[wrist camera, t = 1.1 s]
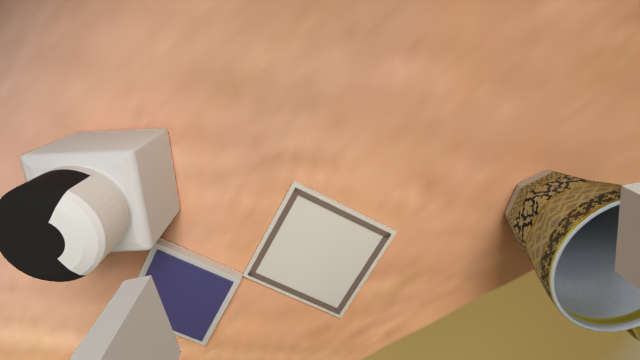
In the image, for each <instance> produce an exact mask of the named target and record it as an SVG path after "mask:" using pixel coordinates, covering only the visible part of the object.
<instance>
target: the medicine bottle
mask: <svg viewBox="0 0 640 360" xmlns="http://www.w3.org/2000/svg"><path fill="white" fill-rule="evenodd" d="M20 161H21V164H22V167H23V171H24V174H25V178H26V181H27V182H26V183H24V184H22V185H20V186H18V187H16V188H14V189H12V190H11V191H9V192H8V193H6V194H5V195H4V196H3V197H2V198H1V199H0V252H1V253H2V255H3V256H4V257H5V258H6V259H7V260H8V262H10V263H11V264H12V265H13V266H14V267H16V268H17V269H18V270H20V271H22V272H23V273H25V274H27V275H29V276H32V277H34V278H38V279H41V280H47V281H55V282H64V281H71V280H75V279H79V278H81V277H83V276H85V275H87V274H88V273H90V272H91V271H92V270H93V269H95V268H96V267H97V265H98V264H99V263H100V262H101V261H102V260H103V259H104V258H105V257H106V256H107V255H108V254H109V252H123V251H144V250H150V249H151V248H152V247H153V246H154V244H155V243H156V242H157V240H158V239H159V238H160V236H161V235H162V233H163V232H164V231H165V229H166V228H167V227H168V225H169V224H170V223H171V221H172V220H173V219H174V217H175V216H176V215H177V213H178V212H179V210H180V203H179V197H178V191H177V185H176V178H175V172H174V166H173V160H172V153H171V147H170V141H169V135H168V131H167V130H166V129H165V128H152V129H128V130H103V131H79V132H76V133H74V134H72V135H69V136H67V137H64V138H62V139H59V140H57V141H54V142H52V143H50V144H47V145H45V146H42V147H40V148H37V149H35V150H32V151H30V152H28V153H25V154H23V155H22V156H21V157H20Z"/></svg>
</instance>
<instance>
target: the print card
mask: <svg viewBox="0 0 640 360" xmlns="http://www.w3.org/2000/svg"><path fill="white" fill-rule="evenodd" d="M396 233H397V231H396V230H394V229H392V228H390V227H388V226H386V225H384V224H382V223H380V222H378V221H376V220H374V219H372V218H370V217H368V216H366V215H364V214H362V213H360V212H358V211H356V210H354V209H352V208H350V207H348V206H346V205H344V204H341V203H339V202H337V201H335V200H333V199H331V198H329V197H327V196H325V195H323V194H321V193H319V192H317V191H315V190H313V189H311V188H309V187H307V186H305V185H303V184H301V183H299V182H297V181H295V180H294V181H293V183H292V184H291V186H290V188H289V190H288V192H287V194H286V195H285V197H284V199H283V201H282V203H281V205H280V206H279V208H278V210H277V212H276V214H275V216H274V217H273V219H272V221H271V223H270V225H269V227H268V229H267V230H266V232H265V234H264V236H263V238H262V240H261V241H260V243H259V245H258V247H257V249H256V251H255V252H254V254H253V256H252V258H251V260H250V262H249V263H248V265H247V267H246V269H245V271H244V273H243V275H242V276H244V277H246V278H248V279H251V280H253V281H255V282H258V283H260V284H262V285H265V286H267V287H269V288H272V289H274V290H276V291H278V292H281V293H283V294H285V295H288V296H290V297H292V298H295V299H297V300H299V301H302V302H304V303H306V304H309V305H311V306H313V307H315V308H318V309H320V310H322V311H325V312H327V313H329V314H332V315H334V316H336V317H339V318H341V317H342V315H343V314H344V312H345V311H346V309H347V308H348V306H349V305H350V303H351V302H352V300H353V299H354V297H355V296H356V294H357V292H358V291H359V289H360V288H361V286H362V285H363V283H364V282H365V280H366V279H367V277H368V276H369V274H370V273H371V271H372V270H373V268H374V267H375V265H376V263H377V262H378V260H379V259H380V257H381V256H382V254H383V253H384V251H385V250H386V248H387V247H388V245H389V244H390V242H391V241H392V239H393V237H394V236H395V234H396Z"/></svg>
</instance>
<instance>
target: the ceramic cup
mask: <svg viewBox="0 0 640 360" xmlns="http://www.w3.org/2000/svg"><path fill="white" fill-rule="evenodd" d="M621 186H622V185H618V184H611V183H603V182H594V181H590V180H585V179H581V178H577V177H573V176H569V175H565V174H562V173H558V172H553V171H549V170H547V171H542V172H540V173H538V174H536V175H534V176H532V177H530V178H528V179H526V180H524V181H522V182H520V183H519V184H518V185H517V187H516V189H515V191H514V193H513V195H512V197H511V199H510V202H509V204H508V206H507V208H506V212H505V214H506V217H507V219H508V221H509V224H510V226H511V228H512V230H513V233H514V235H515V237H516V239H517V240H518V242H519V244H520V245H521V247H522V248H523V250H524V252H525V253H526V255H527V256H528V258H529V260H530V261H531V263H532V265H533V266H534V269H535V271H536V273H537V276H538V278H539V280H540V282H541V283H542V285H543V287H544V288H545V290H546V292H547V293H548V295H549V297H550V298H551V300H552V301H553V303H554V304H555V305H556V307H557V308H558V310H559V311H560V312H561V313H562V314H563V315H564V316H565V317H566V318H567V319H568V320H570V321H571V322H573V323H575V324H576V325H579V326H581V327H583V328H586V329H590V330H595V331H604V332H613V331H622V330H627V331H628V332H629V333H630V334H631V335H632V336H633V337H634V338H636V339H637V340H639V341H640V290H639V289H637V288H636V287H635V286H633V285H632V284H631V283H629V282H628V281H627V280H626V279H624V278H623V277H622V276H620V275H619V274H618V273H616V272H615V271H614V270H615V258H616V245H617V233H618V221H619V208H620V196H621Z"/></svg>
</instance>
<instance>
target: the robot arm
mask: <svg viewBox="0 0 640 360" xmlns="http://www.w3.org/2000/svg"><path fill="white" fill-rule="evenodd" d="M614 271H615V272H616V273H618V274H619V275H620V276H622V277H623V278H624V279H626V280H627V281H628V282H629V283H631V284H632V285H633V286H635V287H636V288H637V289H639V290H640V182H638V183H633V184H628V185H622V186H621V196H620V208H619V221H618V233H617V245H616V258H615V270H614ZM180 354H181V350H180V347H179V345H178V342H177V340H176V337H175V335H174V332H173V330H172V327H171V324H170V322H169V319H168V317H167V314H166V312H165V309H164V307H163V304H162V302H161V299H160V297H159V294H158V291H157V289H156V286H155V284H154V281H153V279H152V276H151V275H149V276H144V277H139V278H134V279H128V280H124V281H123V283H122V284H121V286H120V287H119V289H118V290H117V292H116V293H115V294H114V296H113V297H112V299H111V300H110V302H109V303H108V305H107V306H106V307H105V309H104V310H103V312H102V313H101V315H100V316H99V318H98V319H97V320H96V322H95V323H94V325H93V326H92V328H91V329H90V330H89V332H88V333H87V335H86V336H85V338H84V339H83V341H82V342H81V343H80V345H79V346H78V348H77V349H76V351H75V352H74V354H73V355H72V356H71V358H70V359H69V360H178V359H179V356H180Z"/></svg>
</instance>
